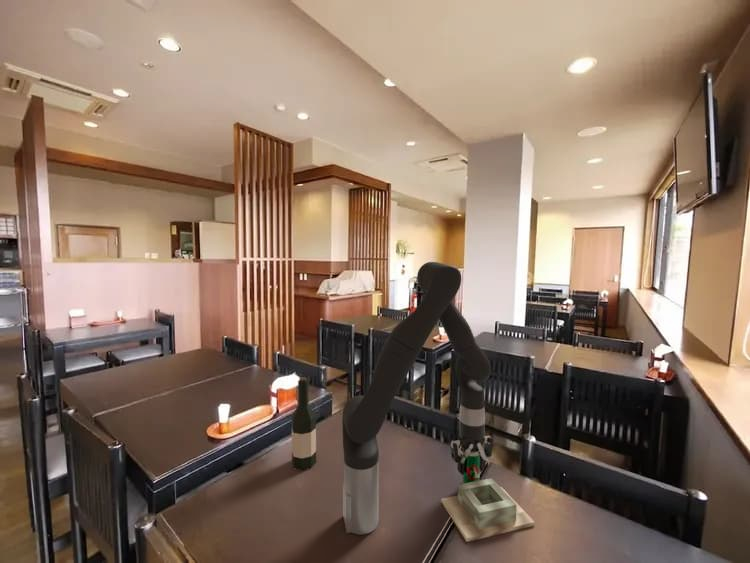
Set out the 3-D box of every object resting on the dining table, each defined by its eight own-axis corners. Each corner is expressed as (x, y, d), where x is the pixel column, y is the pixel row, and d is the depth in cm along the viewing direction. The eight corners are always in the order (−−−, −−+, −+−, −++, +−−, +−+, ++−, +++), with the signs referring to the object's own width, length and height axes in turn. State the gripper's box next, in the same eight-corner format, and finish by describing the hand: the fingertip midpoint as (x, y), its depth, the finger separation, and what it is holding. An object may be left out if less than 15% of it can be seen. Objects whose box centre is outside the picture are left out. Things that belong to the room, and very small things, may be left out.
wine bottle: (321, 462, 113) (320, 378, 111) (301, 473, 107) (299, 384, 105) (307, 452, 119) (306, 372, 117) (287, 463, 113) (285, 378, 111)
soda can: (466, 478, 105) (467, 442, 104) (481, 485, 101) (482, 447, 101) (459, 486, 101) (460, 449, 100) (475, 493, 98) (476, 455, 97)
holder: (466, 541, 81) (466, 520, 80) (441, 501, 94) (441, 483, 94) (534, 525, 86) (534, 505, 85) (501, 489, 99) (501, 472, 99)
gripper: (456, 428, 94) (456, 483, 95) (499, 422, 98) (498, 475, 99) (445, 416, 102) (444, 467, 103) (485, 411, 105) (484, 460, 106)
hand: (471, 471), depth 101 cm, fingers open, 6 cm apart
